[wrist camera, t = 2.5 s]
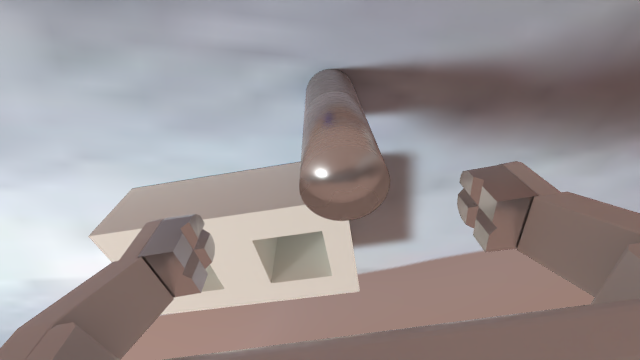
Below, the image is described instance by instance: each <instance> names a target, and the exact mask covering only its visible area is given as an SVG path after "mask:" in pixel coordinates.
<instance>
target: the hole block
mask: <svg viewBox="0 0 640 360" xmlns="http://www.w3.org/2000/svg"><path fill="white" fill-rule="evenodd" d="M300 166H301V162H297V163H291V164H284V165H278V166H272V167H265V168H259V169H253V170H246V171H240V172H234V173H227V174H221V175H215V176H208V177H202V178H196V179H189V180H183V181H177V182H170V183H164V184H158V185H151V186H145V187H139V188H132V189H131V190H130V191H129V193H128V194H127V195H126V196H125V197H124V198H123V199H122V200H121V201H120V202H119V203H118V205H117V206H116V207H115V208H114V209H113V210H112V211H111V212H110V213H109V214H108V215H107V217H106V218H105V219H104V220H103V221H102V222H101V223H100V224H99V225H98V226H97V227H96V229H95V230H94V231H93V232H92V233H91V234H90V235H89V238H90V239H91V240H92V241H93V242H94V243H95V244H96V245H97V246H98V247H99V249H100V250H101V251H102V252H103V253H104V254H105V255H106V256H107V257H108V258H109V260H110V261H111V262H114V261H119V260H120V258H121V257H122V255H123V254H124V253H125V251H126V250H127V249H128V247H129V246H130V244H131V243H132V242H133V240H134V239H135V238H136V236H137V235H138V233H139V232H140V231H141V229H142V228H143V227H144V225H145V224H146V223H147V222H149V221H151V220H157V219H165V218H170V217H178V216H185V215H192V214H197V215H200V216H201V218H202V220H203V221H204V223H205V224H204V227H203V229H204V230H205V231H207V232H209V233H210V234H211V236H212V238H213V240H214V244H215V255H214V258H213V261H212V263H211V264H210V265H209V266H208V267H207V268H206V271H207V273H208V275H207V278H206V281H205V284H204V286H203V289H202V292H201V293H197V294H192V295H186V296H180V297H174V300H173V301H172V302H171V303H170V304H169V305H168V307H167V308H166V309H165V310H164V311H163V312H162V313H161V314H160V315H164V314H172V313H181V312H189V311H197V310H206V309H215V308H223V307H232V306H240V305H249V304H257V303H266V302H274V301H283V300H291V299H300V298H307V297H317V296H325V295H334V294H341V293H351V292H358V291H360V290H359V284H358V278H357V270H356V264H355V257H354V250H353V244H352V237H351V230H350V224H349V220H348V221H335V220H330V219H326V218H323V217H321V216H318V215H317V214H315V213H314V212H312V211H311V210H310V209H309V208H308V207H307V206H306V205H305V203H304V202H303V200H302V198H301V195H300V191H299V180H300Z"/></svg>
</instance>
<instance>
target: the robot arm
mask: <svg viewBox="0 0 640 360" xmlns="http://www.w3.org/2000/svg"><path fill="white" fill-rule="evenodd" d="M460 184H461V185H462V186H463V188H464V189H463V190H462V191H461V192H460V193H459V194H458V201H457V205H458V210H459V213H460V216H461V218H462V220H463V221H464V223H465V224H466V225H468V226H470V227H472V228H474V233H473V236H474V237H475V238H476V240H477V241H478V243H479V244H480V245H481V247H482V248H483V250H484V251H485V252H491V251H500V250H508V249H517V250H518V251H519V252H521V253H523V254H524V255H526V256H528V257H529V258H531V259H533V260H535V261H536V262H538V263H539V264H541V265H543V266H544V267H546V268H548V269H549V270H551V271H552V272H554V273H556V274H557V275H559V276H561V277H562V278H564V279H566V280H568V281H569V282H571V283H572V284H574V285H576V286H577V287H579V288H581V289H582V290H584V291H586V292H587V293H589V294H590V295H592V296H594V297H595V298H594V300H593V301H592V303H591V304H590V305H583V306H575V307H567V308H560V309H552V310H544V311H536V312H529V313H520V314H513V315H506V316H497V317H490V318H482V319H474V320H467V321H459V322H452V323H443V324H436V325H428V326H420V327H413V328H405V329H398V330H389V331H382V332H374V333H367V334H359V335H351V336H343V337H335V338H328V339H320V340H313V341H304V342H296V343H289V344H282V345H273V346H266V347H258V348H250V349H242V350H234V351H227V352H219V353H211V354H203V355H196V356H188V357H181V358H172V359H164V360H640V213H637V212H633V211H630V210H627V209H623V208H620V207H617V206H613V205H610V204H607V203H603V202H600V201H597V200H593V199H590V198H587V197H583V196H580V195H577V194H574V193H570V192H562V193H561V192H560V191H559V190H557V189H556V188H555V187H553V186H552V185H551V184H549V183H548V182H547V181H545V180H544V179H543V178H542V177H540V176H539V175H538V174H536V173H535V172H534V171H532V170H531V169H530V168H528V167H527V166H526V165H524V164H523V163H521V162H518V161H515V162H509V163H504V164H499V165H496V166H490V167H484V168H478V169H472V170H467V171H463V172H462V174H461V177H460ZM204 224H205V223H204V221H203V220H202V218H201V216H200V215H197V214H192V215H185V216H178V217H170V218H165V219H157V220H151V221H149V222H147V223H146V224H145V225H144V227H143V228H142V229H141V231H140V232H139V233H138V235H137V236H136V238H135V239H134V240H133V242H132V243H131V244H130V246H129V247H128V249H127V250H126V251H125V253H124V254H123V255H122V257H121V258H120V260H119V261H114V262H112V263H111V264H109V265H108V266H106V267H105V268H104V269H102V270H101V271H99V272H98V273H96V274H95V275H94V276H92V277H91V278H89V279H88V280H86V281H85V282H84V283H82V284H81V285H79V286H78V287H76V288H75V289H74V290H72V291H71V292H69V293H68V294H66V295H65V296H64V297H62V298H61V299H59V300H58V301H56V302H55V303H54V304H52V305H51V306H49V307H48V308H46V309H45V310H44V311H42V312H41V313H39V314H38V315H36V316H35V317H34V318H32V319H31V320H29V321H28V322H26V323H25V324H24V325H22V326H21V327H19V328H18V329H17V330H16V331H15V332H14V333H13V335H12V336H11V337H10V338H9V339H8V340H7V341H6V343H5V344H4V345H3V346H2V347H1V348H0V360H121V359H122V357H123V356H124V355H125V354H126V353H127V352H128V351H129V349H130V348H131V347H132V346H133V345H134V344H135V343H136V341H137V340H138V339H139V338H140V337H141V336H142V335H143V334H144V332H145V331H146V330H147V329H148V328H149V327H150V326H151V325H152V323H153V322H154V321H155V320H156V319H157V318H158V317H159V316H160V314H161V313H162V312H163V311H164V310H165V309H166V308H167V307H168V305H169V304H170V303H171V302H172V301H173V300H174V297H180V296H186V295H192V294H197V293H201V292H202V289H203V286H204V284H205V281H206V278H207V275H208V273H207V271H206V268H207V267H208V266H209V265H210V264H211V263H212V261H213V258H214V255H215V244H214V240H213V238H212V236H211V234H210V233H209V232H207V231H205V230H204V229H203V227H204Z"/></svg>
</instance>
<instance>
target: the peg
mask: <svg viewBox="0 0 640 360" xmlns="http://www.w3.org/2000/svg"><path fill="white" fill-rule="evenodd" d="M389 187H390V177H389V173H388V170H387V167H386V165H385V162H384V160H383V158H382V155H381V153H380V150H379V148H378V145H377V143H376V141H375V138H374V136H373V133H372V131H371V129H370V126H369V124H368V121H367V119H366V116H365V114H364V112H363V109H362V107H361V104H360V102H359V99H358V97H357V95H356V92H355V90H354V87H353V85H352V83H351V81H350V79H349V78H348V77H347V76H346V75H345V74H344V73H342V72H341V71H338V70H334V69H327V70H323V71H320V72H318V73H317V74H315V75H314V76H313V77H312V78H311V80H310V81H309V83H308V85H307V89H306V99H305V113H304V126H303V139H302V153H301V166H300V180H299V191H300V195H301V198H302V200H303V202H304V203H305V205H306V206H307V207H308V208H309V209H310V210H311V211H312V212H314V213H315V214H317V215H318V216H321V217H323V218H326V219H330V220H335V221H348V220H354V219H358V218H361V217H363V216H366V215H368V214H369V213H371V212H372V211H374V210H375V209H376V208H378V207H379V206H380V205H381V203H382V202H383V201H384V199H385V198H386V196H387V194H388V191H389Z"/></svg>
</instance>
